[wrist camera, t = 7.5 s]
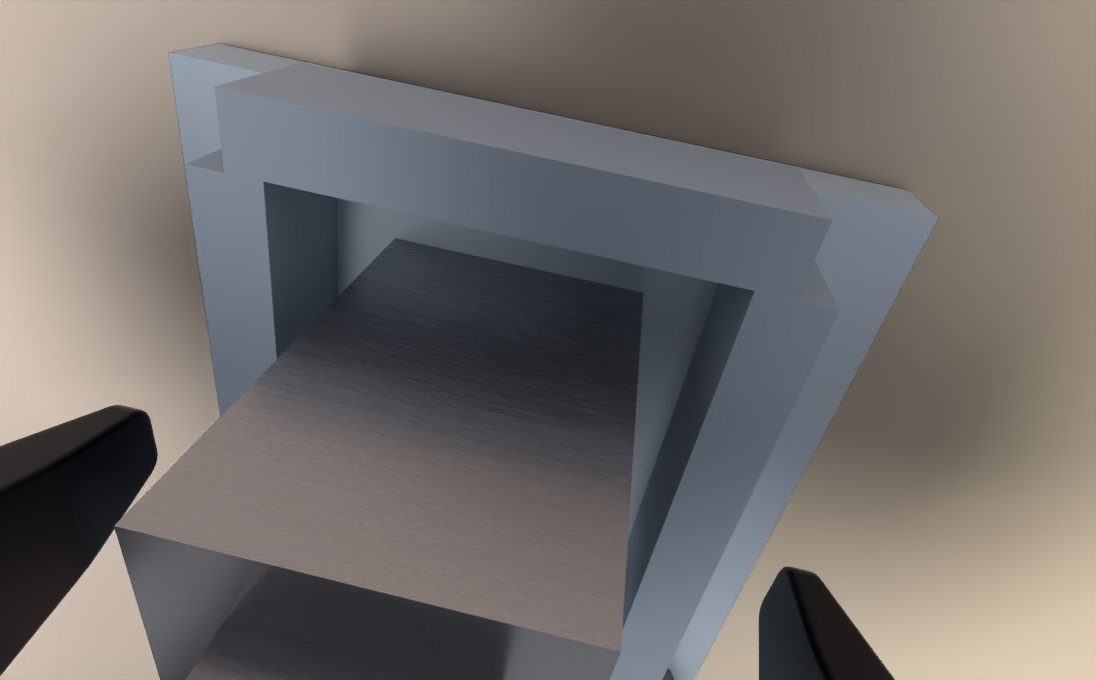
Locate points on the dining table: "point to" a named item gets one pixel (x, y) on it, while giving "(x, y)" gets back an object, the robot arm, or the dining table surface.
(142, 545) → the grey block with tab
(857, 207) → the chassis
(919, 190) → the dining table surface
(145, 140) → the dining table surface
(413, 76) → the dining table surface
